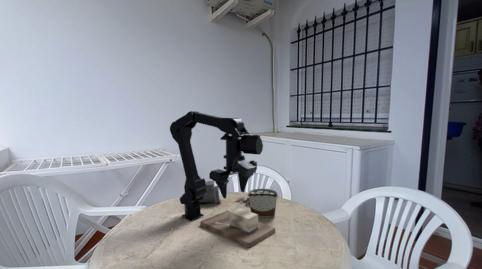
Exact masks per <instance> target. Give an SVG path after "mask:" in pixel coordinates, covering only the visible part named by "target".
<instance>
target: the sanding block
mask: <svg viewBox="0 0 482 269" xmlns="http://www.w3.org/2000/svg"><path fill="white" fill-rule="evenodd" d="M258 222H259V217H258V214H255V213H252V212H251V211H249V210H245V209H242V208H240V207H239V208H236V209H233V210H231V211H230V226H231V227H234V228H236V229H238V230H241V231H243V232H245V233H248V234H249V233H251V232H253V231H255V230H257V229H258Z"/></svg>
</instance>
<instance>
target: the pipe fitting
mask: <svg viewBox="0 0 482 269" xmlns="http://www.w3.org/2000/svg"><path fill="white" fill-rule="evenodd" d="M205 183H206V186H207V188H206V193H205V195H204V197H203V199H202V200H200V201H199V202H200V204H202V203H204V204H205V203H212V202H214V203H216V204H221V203H222V194H221V192H220V190H219V188H218V186H217V185H215V181H213V180H208V181H205Z"/></svg>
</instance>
